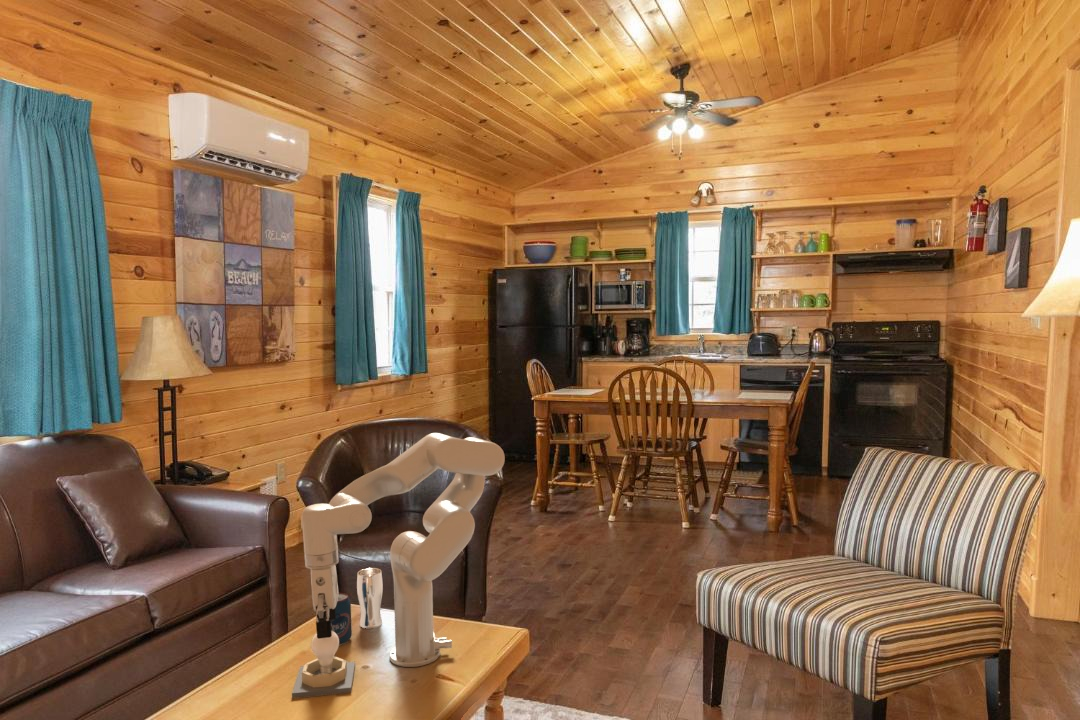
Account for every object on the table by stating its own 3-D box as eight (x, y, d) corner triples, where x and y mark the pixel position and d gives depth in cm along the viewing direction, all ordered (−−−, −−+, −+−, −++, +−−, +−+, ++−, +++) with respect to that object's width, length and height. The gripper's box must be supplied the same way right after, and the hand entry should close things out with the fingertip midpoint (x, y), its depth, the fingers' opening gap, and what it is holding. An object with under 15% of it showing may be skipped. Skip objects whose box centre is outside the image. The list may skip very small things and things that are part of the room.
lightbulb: (332, 683, 172) (330, 637, 171) (307, 681, 173) (305, 635, 172) (345, 670, 178) (343, 625, 177) (320, 668, 179) (319, 624, 178)
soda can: (328, 649, 192) (326, 603, 191) (322, 639, 198) (320, 595, 197) (354, 642, 196) (353, 598, 195) (347, 633, 202) (346, 590, 201)
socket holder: (355, 666, 183) (354, 651, 182) (351, 692, 170) (350, 676, 170) (300, 671, 180) (299, 656, 180) (292, 698, 168) (291, 682, 167)
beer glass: (362, 619, 211) (360, 567, 210) (386, 619, 210) (384, 567, 209) (355, 629, 204) (353, 576, 203) (380, 629, 203) (378, 576, 203)
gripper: (334, 568, 165) (339, 642, 167) (341, 544, 182) (346, 611, 184) (299, 572, 164) (305, 646, 166) (309, 547, 181) (315, 614, 183)
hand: (326, 628), depth 175 cm, fingers open, 9 cm apart
